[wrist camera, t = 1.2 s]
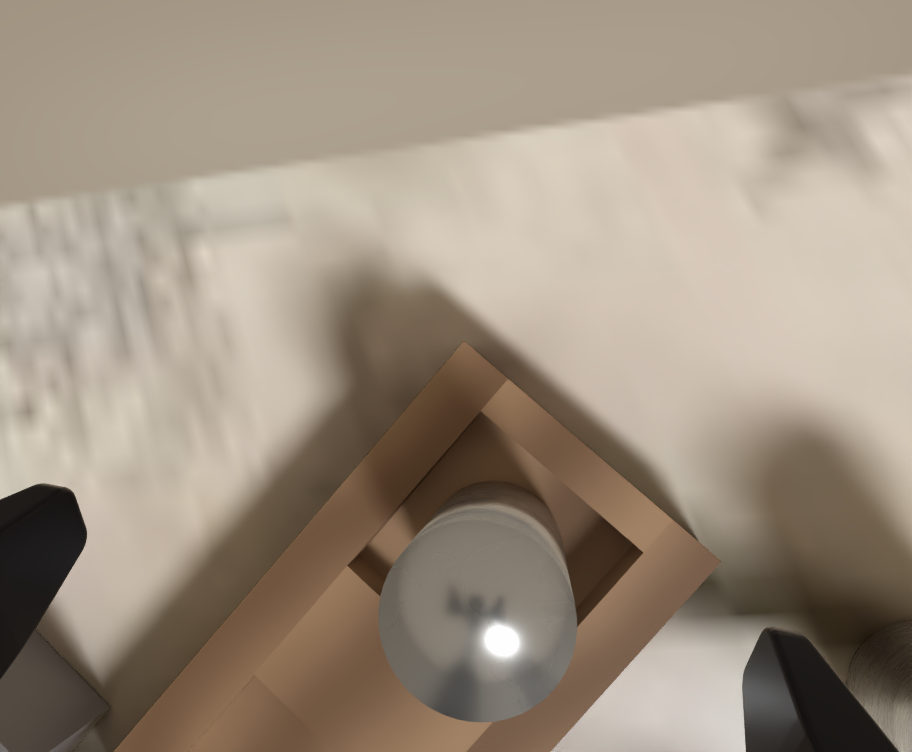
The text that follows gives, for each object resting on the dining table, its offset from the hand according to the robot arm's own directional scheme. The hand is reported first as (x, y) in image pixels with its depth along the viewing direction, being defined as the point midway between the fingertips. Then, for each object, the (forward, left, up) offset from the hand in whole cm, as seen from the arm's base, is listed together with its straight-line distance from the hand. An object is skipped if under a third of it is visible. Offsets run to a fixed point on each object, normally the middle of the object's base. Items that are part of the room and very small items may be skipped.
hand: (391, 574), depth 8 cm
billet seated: (-2, +2, -13) cm, 14 cm away
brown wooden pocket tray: (-2, +7, -14) cm, 16 cm away
